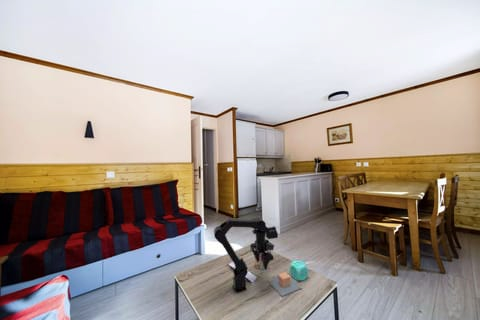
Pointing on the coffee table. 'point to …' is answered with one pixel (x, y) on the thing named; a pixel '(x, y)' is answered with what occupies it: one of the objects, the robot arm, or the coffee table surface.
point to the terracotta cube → (284, 279)
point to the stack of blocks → (260, 264)
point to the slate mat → (286, 290)
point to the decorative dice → (298, 270)
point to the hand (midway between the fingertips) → (261, 265)
